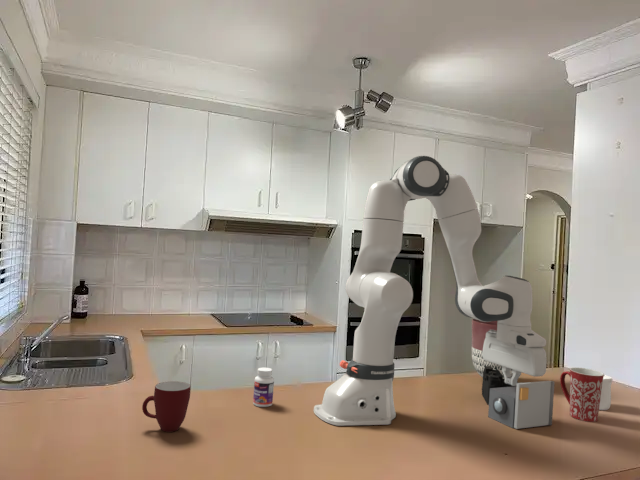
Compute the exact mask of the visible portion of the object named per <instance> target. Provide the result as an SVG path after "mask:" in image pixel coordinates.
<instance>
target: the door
mask: <svg viewBox="0 0 640 480" xmlns="http://www.w3.org/2000/svg"><path fill="white" fill-rule="evenodd" d="M554 395H555V381H553V380H542V381H531V382H530V381H528V382H518V383H517V387H516V403H515V419H514V428H513V429H515V430H518V429H520V430H521V429H525V428H526V429H527V428H533V427H534V428H535V427H543V426H552V425H553V412H554V397H555V396H554Z"/></svg>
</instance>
